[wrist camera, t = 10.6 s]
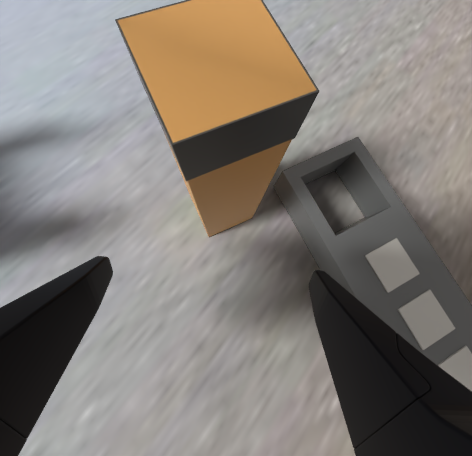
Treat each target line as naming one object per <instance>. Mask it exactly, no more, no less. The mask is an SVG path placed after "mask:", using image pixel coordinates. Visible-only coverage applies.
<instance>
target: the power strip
mask: <svg viewBox="0 0 472 456" xmlns="http://www.w3.org/2000/svg"><path fill="white" fill-rule="evenodd" d="M334 170H336V172H337V174H338V175H339V177H340V178H341V180H342V182H343V183H344V185H345V186H346V188H347V189H348V191H349V193H350V194H351V196H352V197H353V199H354V200H355V202H356V204H357V205H358V207H359V208H360V210H361V212H362V213H363V215H364V216H365V218H363V219H361V220H359V221H357V222H355V223H353V224H352V225H350V226H348V227H346V228H344V229H342V230H340V231H338V232H336V233H335V234H334V232H333V230H332V229H331V227H330V225H329V224H328V222H327V220H326V219H325V217H324V215H323V214H322V212H321V210H320V209H319V207H318V205H317V204H316V202H315V200H314V199H313V197H312V195H311V194H310V192H309V190H308V189H307V187H306V185H305V184H307V183H309V182H311V181H313V180H315V179H317V178H319V177H322V176H324V175H326V174H328V173H330V172H332V171H334ZM274 189H275V191H276V192H277V194H278V196H279V198H280V199H281V201H282V203H283V205H284V207H285V208H286V210H287V212H288V214H289V215H290V217H291V219H292V221H293V222H294V224H295V226H296V228H297V229H298V231H299V233H300V235H301V236H302V238H303V240H304V242H305V244H306V245H307V247H308V249H309V251H310V252H311V254H312V256H313V258H314V259H315V261H316V263H317V265H318V266H319V268H320V270H321V271H325V272H326V273H327V274H328V275H330V276H331V277H332V278H333V279H334V280H336V281H337V282H338V283H339V284H340V285H341V286H343V287H344V288H345V289H346V290H347V291H349V292H350V293H351V294H352V295H353V296H354V297H356V298H357V299H358V300H359V301H360V302H362V303H363V304H364V305H365V306H366V307H367V308H369V309H370V310H371V311H372V312H373V313H374V314H376V315H377V316H378V317H379V318H380V319H382V320H383V321H384V322H385V323H386V324H387V325H389V326H390V327H391V328H392V329H393V330H395V331H396V333H398V334H399V335H401V336H402V337H403V338H404V339H405V340H406V341H408V342H409V343H410V344H411V345H413V346H414V347H415V348H416V349H417V350H419V351H420V352H421V353H422V354H424V355H425V356H426V357H427V358H429V359H430V360H431V361H433V362H434V363H435V364H436V365H438V366H439V367H440V368H442V369H443V370H444V371H446V372H447V373H448V374H450V375H451V376H452V377H454V378H455V379H456V380H457V381H459V382H460V383H461V384H463V385H464V386H465V387H467V388H468V389H469V390H471V391H472V305H471V304H470V302H469V301H468V299H467V298H466V296H465V295H464V293H463V292H462V290H461V289H460V287H459V286H458V284H457V283H456V281H455V280H454V278H453V277H452V275H451V274H450V272H449V271H448V269H447V268H446V266H445V265H444V263H443V262H442V261H441V259H440V258H439V256H438V255H437V253H436V252H435V250H434V249H433V247H432V246H431V244H430V243H429V241H428V240H427V238H426V237H425V235H424V234H423V232H422V231H421V229H420V228H419V226H418V225H417V223H416V222H415V220H414V219H413V218H412V216H411V215H410V213H409V212H408V210H407V209H406V207H405V206H404V204H403V203H402V201H401V200H400V198H399V197H398V195H397V194H396V192H395V191H394V189H393V188H392V186H391V185H390V183H389V182H388V180H387V179H386V177H385V176H384V175H383V173H382V172H381V170H380V169H379V167H378V166H377V164H376V163H375V161H374V160H373V158H372V157H371V155H370V154H369V152H368V151H367V149H366V148H365V146H364V145H363V143H362V142H361V140H360V139H359V137H356V138H354V139H352V140H350V141H348V142H345V143H343V144H341V145H339V146H337V147H334V148H332V149H330V150H328V151H326V152H324V153H321V154H319V155H317V156H315V157H313V158H310V159H308V160H306V161H304V162H302V163H299V164H297V165H295V166H293V167H291V168H288V169H286V170H284V171H282V173H281V175H280V177H279V178H278V180H277V182H276V184H275V185H274Z"/></svg>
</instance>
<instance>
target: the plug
mask: <svg viewBox="0 0 472 456" xmlns="http://www.w3.org/2000/svg"><path fill="white" fill-rule="evenodd" d="M115 21H116V23H117V25H118V28H119V30H120V32H121V35H122V37H123V39H124V42H125V44H126V47H127V49H128V51H129V54H130V56H131V58H132V61H133V63H134V65H135V68H136V70H137V73H138V75H139V77H140V80H141V82H142V84H143V87H144V89H145V91H146V93H147V95H148V98H149V100H150V102H151V104H152V106H153V109H154V111H155V113H156V115H157V118H158V120H159V122H160V124H161V126H162V129H163V131H164V133H165V136H166V138H167V141H168V143H169V146H170V148H171V150H172V153H173V155H174V158H175V160H176V162H177V165H178V167H179V170H180V172H181V174H182V177H183V179H184V182H185V184H186V186H187V189H188V191H189V194H190V196H191V198H192V200H193V203H194V205H195V207H196V209H197V212H198V214H199V216H200V218H201V221H202V223H203V225H204V227H205V229H206V232H207V234H208V236H209V237H211V236H213V235H215V234H217V233H220V232H222V231H224V230H226V229H229V228H231V227H233V226H235V225H238V224H240V223H242V222H244V221H247V220H249V219H251V218H253V216H254V214H255V212H256V210H257V208H258V206H259V204H260V202H261V200H262V198H263V196H264V194H265V192H266V190H267V188H268V186H269V184H270V182H271V180H272V178H273V176H274V174H275V172H276V170H277V168H278V166H279V164H280V162H281V160H282V158H283V156H284V154H285V152H286V150H287V148H288V146H289V144H290V142H291V140H292V139H294V138H295V137H296V135H297V133H298V131H299V129H300V127H301V125H302V123H303V121H304V119H305V118H306V116H307V114H308V112H309V110H310V108H311V106H312V104H313V102H314V100H315V98H316V96H317V94H318V93H319V90H318V88H317V86H316V85H315V83H314V82H313V80H312V78H311V77H310V75H309V74H308V72H307V70H306V69H305V67H304V66H303V64H302V62H301V61H300V59H299V58H298V56H297V55H296V53H295V51H294V50H293V48H292V47H291V45H290V43H289V42H288V40H287V39H286V37H285V35H284V34H283V32H282V31H281V29H280V27H279V26H278V24H277V23H276V21H275V19H274V18H273V16H272V15H271V13H270V11H269V10H268V8H267V7H266V5H265V3H264V2H263V0H185V1H182V2H178V3H174V4H171V5H167V6H163V7H160V8H156V9H152V10H149V11H145V12H141V13H138V14H134V15H130V16H126V17H123V18H119V19H115Z"/></svg>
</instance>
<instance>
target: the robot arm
mask: <svg viewBox="0 0 472 456" xmlns="http://www.w3.org/2000/svg"><path fill="white" fill-rule="evenodd" d="M112 275H113V270H112V267H111V263H110V260H109V258H108V257H104V256H97V257H95V258H93V259H91V260H89V261H87V262H85V263H84V264H82V265H80V266H78V267H76V268H74V269H72V270H70V271H69V272H67V273H65V274H63V275H61V276H59V277H57V278H55V279H54V280H52V281H50V282H48V283H46V284H44V285H42V286H40V287H39V288H37V289H35V290H33V291H31V292H29V293H27V294H25V295H24V296H22V297H20V298H18V299H16V300H14V301H12V302H10V303H9V304H7V305H5V306H3V307H1V308H0V456H18V455H19V453H20V451H21V449H22V448H23V446H24V444H25V442H26V440H27V439H26V438H28V436H29V435H30V433H31V431H32V429H33V427H34V425H35V424H36V422H37V420H38V418H39V416H40V414H41V413H42V411H43V409H44V407H45V405H46V404H47V402H48V400H49V398H50V396H51V394H52V393H53V391H54V389H55V387H56V385H57V384H58V382H59V380H60V378H61V376H62V374H63V373H64V371H65V369H66V367H67V365H68V363H69V362H70V360H71V358H72V356H73V354H74V353H75V351H76V349H77V347H78V345H79V343H80V342H81V340H82V338H83V336H84V334H85V333H86V331H87V329H88V327H89V325H90V323H91V322H92V320H93V318H94V316H95V314H96V312H97V310H98V309H99V306H100V304H101V302H102V299H103V297H104V295H105V292H106V290H107V287H108V285H109V283H110V280H111V278H112ZM309 290H310V296H311V301H312V307H313V312H314V317H315V322H316V325H317V329H318V332H319V335H320V338H321V342H322V345H323V348H324V352H325V355H326V358H327V362H328V365H329V368H330V372H331V375H332V378H333V381H334V385H335V388H336V391H337V395H338V398H339V401H340V405H341V408H342V411H343V415H344V418H345V421H346V424H347V428H348V431H349V434H350V438H351V441H352V444H353V447H354V451H355V455H356V456H472V391H471V390H469V389H468V388H467V387H465V386H464V385H463V384H461V383H460V382H459V381H457V380H456V379H455V378H454V377H452V376H451V375H450V374H448V373H447V372H446V371H444V370H443V369H442V368H440V367H439V366H438V365H436V364H435V363H434V362H433V361H431V360H430V359H429V358H427V357H426V356H425V355H424V354H422V353H421V352H420V351H419V350H417V349H416V348H415V347H414V346H413V345H411V344H410V343H409V342H408V341H406V340H405V339H404V338H403V337H402V336H401V335H399V334H398V333H396V331H395V330H393V329H392V328H391V327H390V326H389V325H387V324H386V323H385V322H384V321H383V320H382V319H380V318H379V317H378V316H377V315H376V314H374V313H373V312H372V311H371V310H370V309H369V308H367V307H366V306H365V305H364V304H363V303H362V302H360V301H359V300H358V299H357V298H356V297H354V296H353V295H352V294H351V293H350V292H349V291H347V290H346V289H345V288H344V287H343V286H341V285H340V284H339V283H338V282H337V281H336V280H334V279H333V278H332V277H331V276H330V275H328V274H327V273H326V272H325V271H320V270H315V271H314V272H313V275H312V277H311V280H310V283H309Z"/></svg>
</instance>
